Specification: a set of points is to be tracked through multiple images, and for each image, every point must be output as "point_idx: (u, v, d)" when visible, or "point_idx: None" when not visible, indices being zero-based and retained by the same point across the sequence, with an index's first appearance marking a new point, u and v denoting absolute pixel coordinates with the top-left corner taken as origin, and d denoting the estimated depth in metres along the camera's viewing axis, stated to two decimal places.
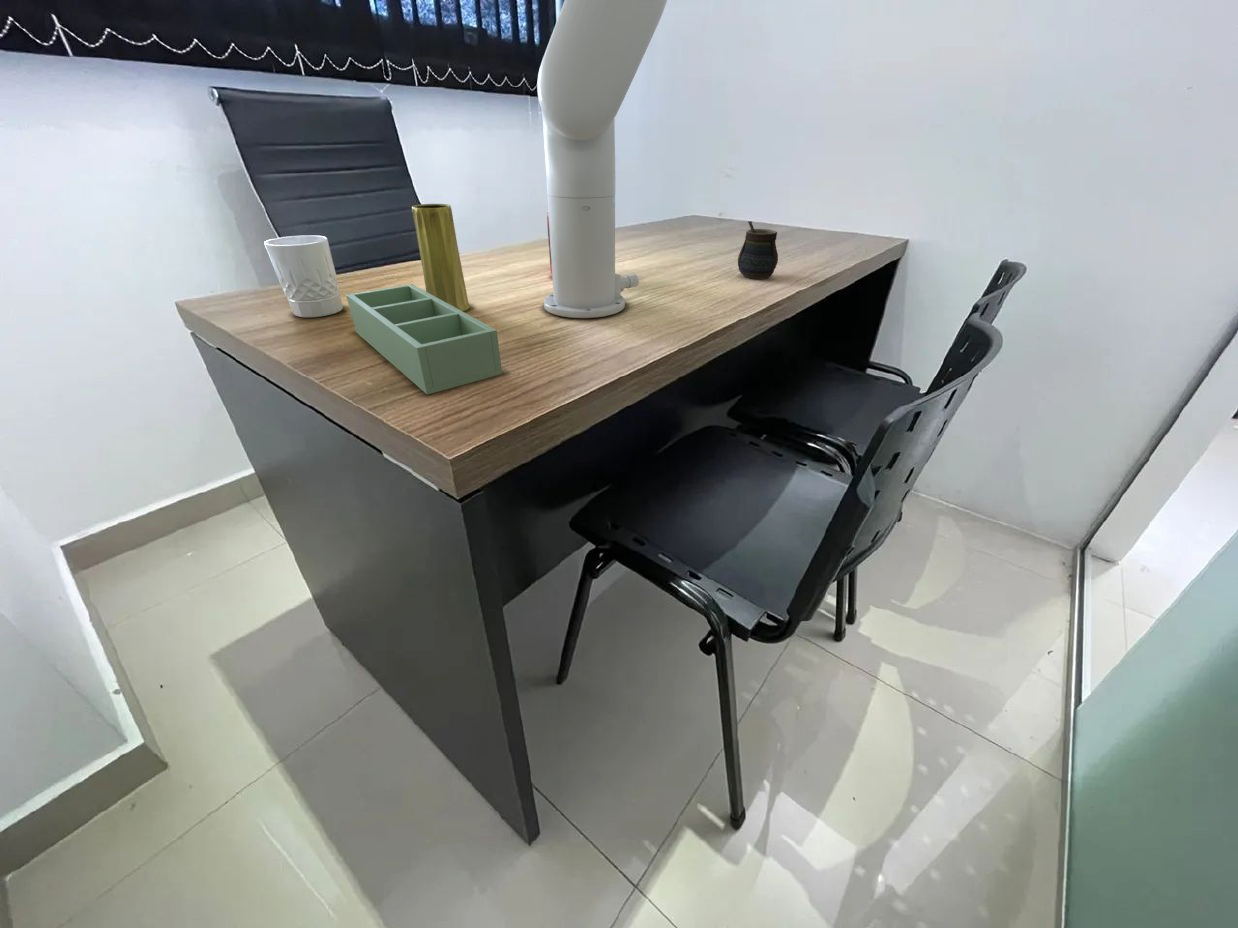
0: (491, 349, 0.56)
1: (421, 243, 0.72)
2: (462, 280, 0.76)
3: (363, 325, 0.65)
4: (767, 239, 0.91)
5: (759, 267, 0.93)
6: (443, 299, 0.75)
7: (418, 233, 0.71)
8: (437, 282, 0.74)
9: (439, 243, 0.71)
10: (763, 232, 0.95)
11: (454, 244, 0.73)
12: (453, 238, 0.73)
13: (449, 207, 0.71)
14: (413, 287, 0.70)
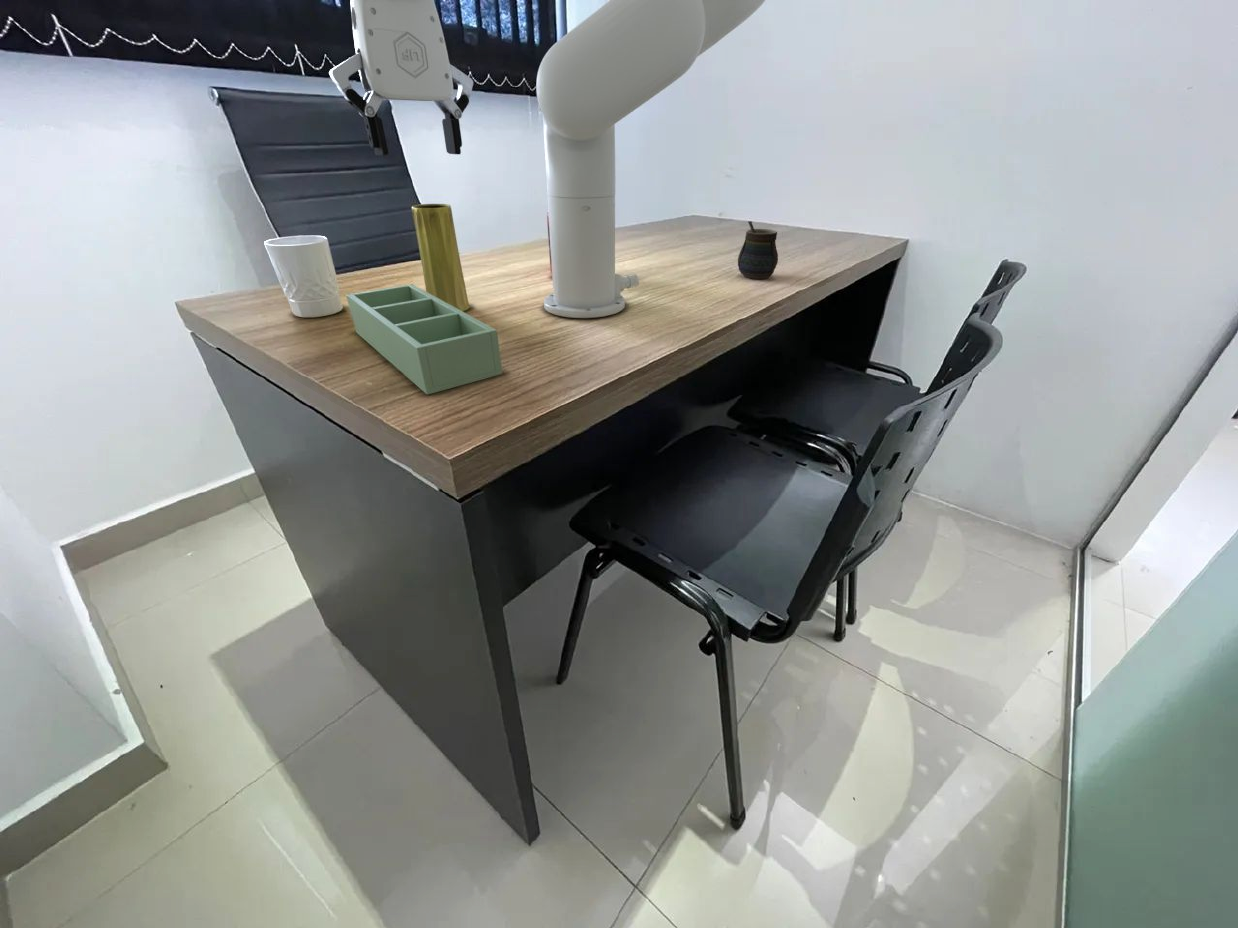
0: (491, 349, 0.56)
1: (421, 243, 0.72)
2: (462, 280, 0.76)
3: (363, 325, 0.65)
4: (767, 239, 0.91)
5: (759, 267, 0.93)
6: (443, 299, 0.75)
7: (418, 233, 0.71)
8: (437, 282, 0.74)
9: (439, 243, 0.71)
10: (763, 232, 0.95)
11: (454, 244, 0.73)
12: (453, 238, 0.73)
13: (449, 207, 0.71)
14: (413, 287, 0.70)
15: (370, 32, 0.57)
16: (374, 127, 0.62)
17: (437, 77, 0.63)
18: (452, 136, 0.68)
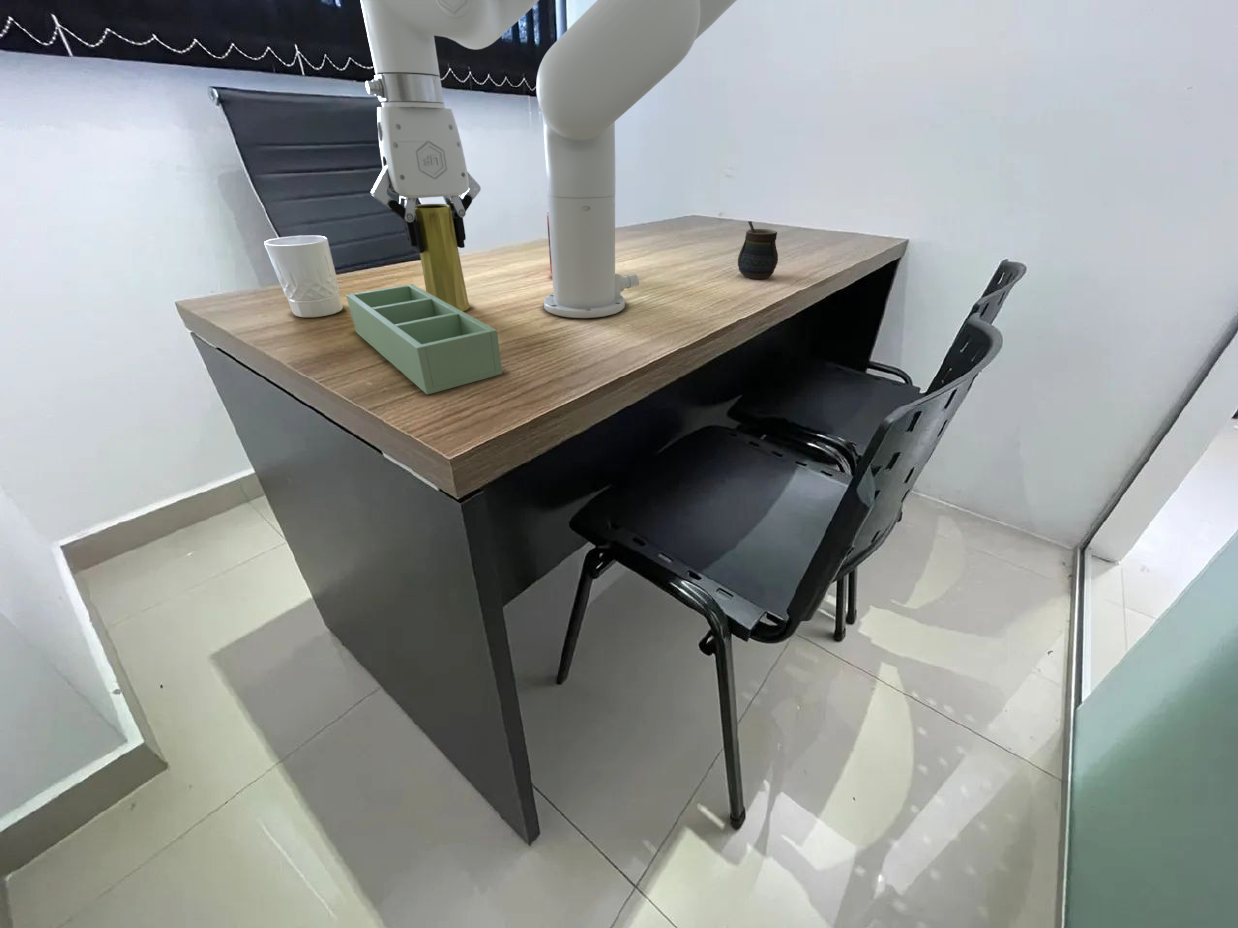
0: (491, 349, 0.56)
1: None
2: (462, 280, 0.76)
3: (363, 325, 0.65)
4: (767, 239, 0.91)
5: (759, 267, 0.93)
6: (443, 299, 0.75)
7: None
8: (437, 282, 0.74)
9: (439, 243, 0.71)
10: (763, 232, 0.95)
11: (454, 244, 0.73)
12: (452, 238, 0.73)
13: (449, 207, 0.71)
14: (413, 287, 0.70)
15: (395, 144, 0.63)
16: (412, 230, 0.70)
17: (454, 176, 0.69)
18: (456, 232, 0.74)
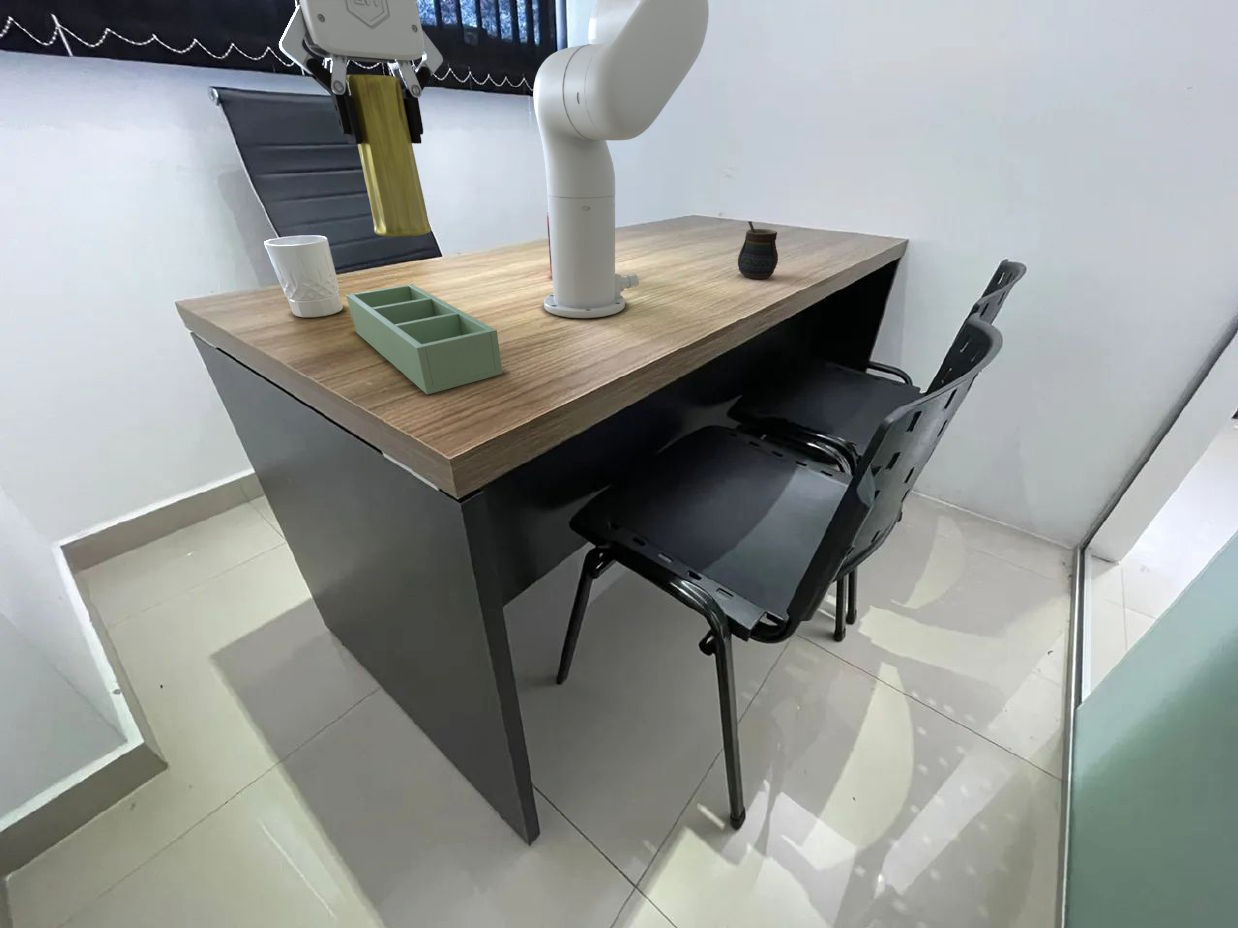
0: (491, 349, 0.56)
1: None
2: (419, 190, 0.56)
3: (363, 325, 0.65)
4: (767, 239, 0.91)
5: (759, 267, 0.93)
6: (392, 214, 0.55)
7: None
8: (383, 189, 0.54)
9: (383, 130, 0.51)
10: (763, 232, 0.95)
11: (405, 135, 0.53)
12: (403, 125, 0.52)
13: (396, 78, 0.51)
14: (413, 287, 0.70)
15: None
16: (344, 108, 0.50)
17: (402, 29, 0.48)
18: (410, 120, 0.53)
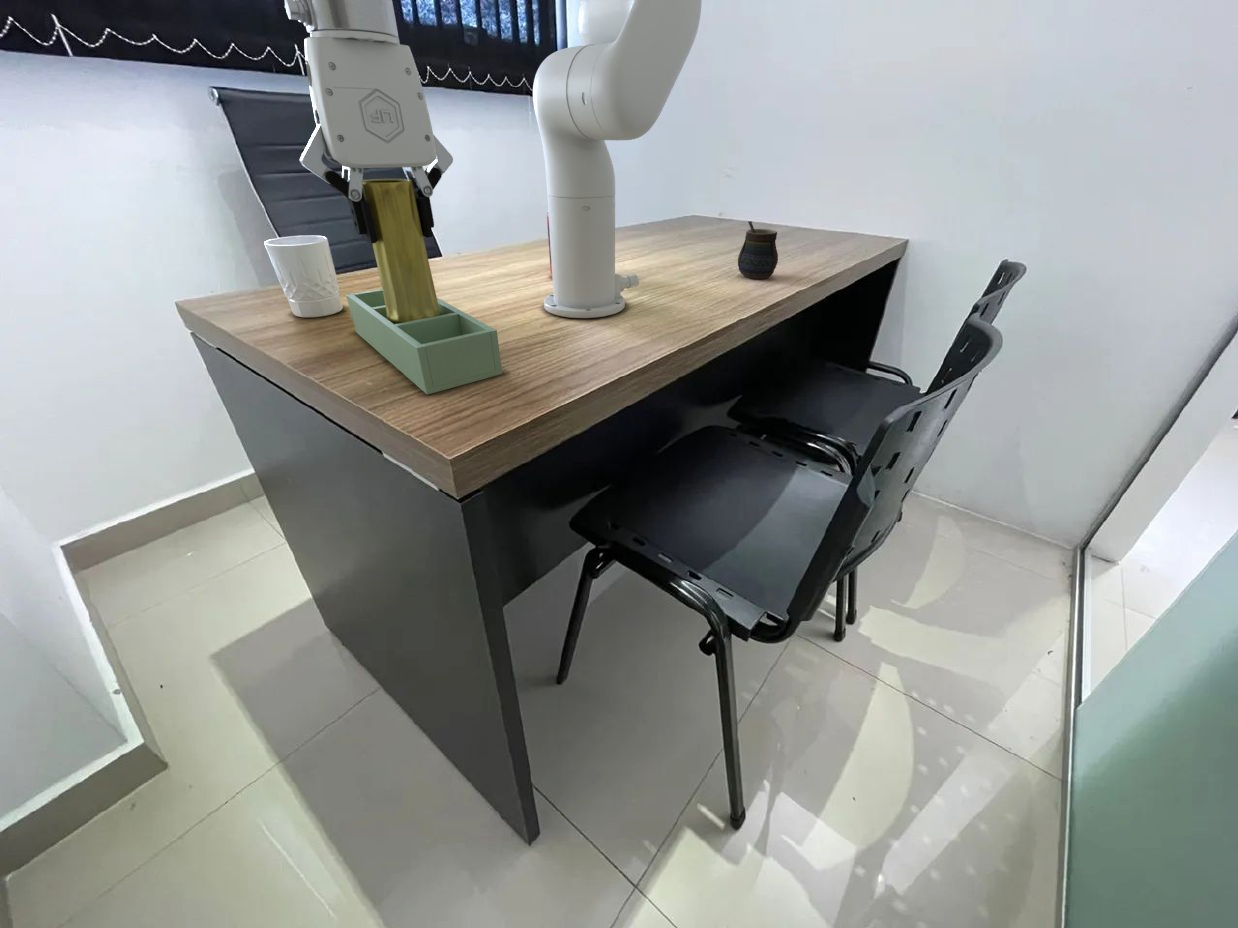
0: (491, 349, 0.56)
1: None
2: (430, 279, 0.59)
3: (363, 325, 0.65)
4: (767, 239, 0.91)
5: (759, 267, 0.93)
6: (404, 304, 0.58)
7: None
8: (396, 282, 0.56)
9: (396, 230, 0.54)
10: (763, 232, 0.95)
11: (417, 232, 0.56)
12: (415, 223, 0.55)
13: (409, 182, 0.53)
14: None
15: (329, 91, 0.46)
16: (360, 212, 0.52)
17: (416, 140, 0.51)
18: (421, 217, 0.56)
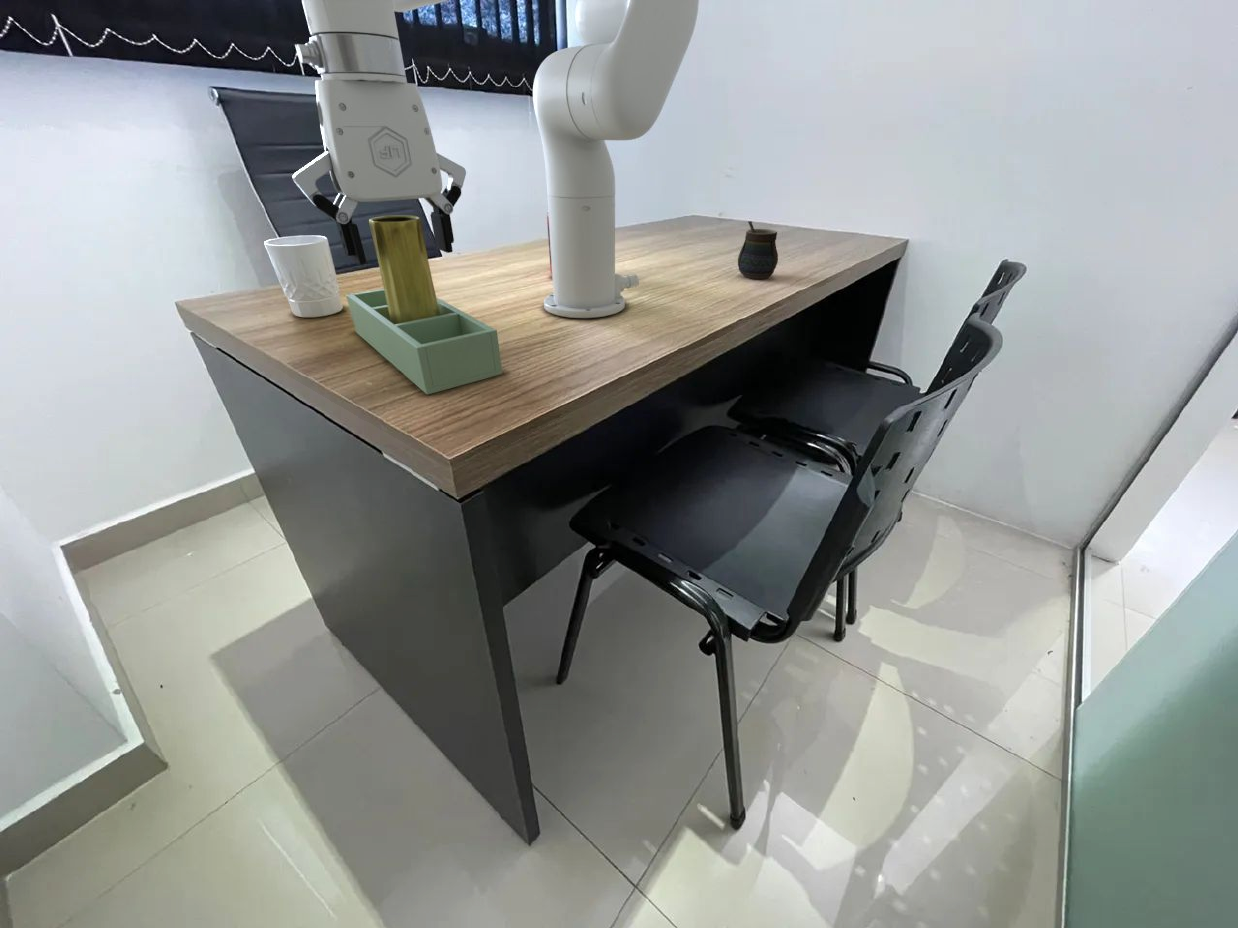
0: (491, 349, 0.56)
1: (382, 266, 0.56)
2: (436, 310, 0.61)
3: (363, 325, 0.65)
4: (767, 239, 0.91)
5: (759, 267, 0.93)
6: None
7: (378, 253, 0.56)
8: (404, 314, 0.58)
9: (405, 266, 0.56)
10: (763, 232, 0.95)
11: (425, 266, 0.58)
12: (423, 259, 0.57)
13: (417, 220, 0.55)
14: None
15: (339, 131, 0.47)
16: (348, 234, 0.53)
17: (422, 173, 0.53)
18: (442, 233, 0.58)
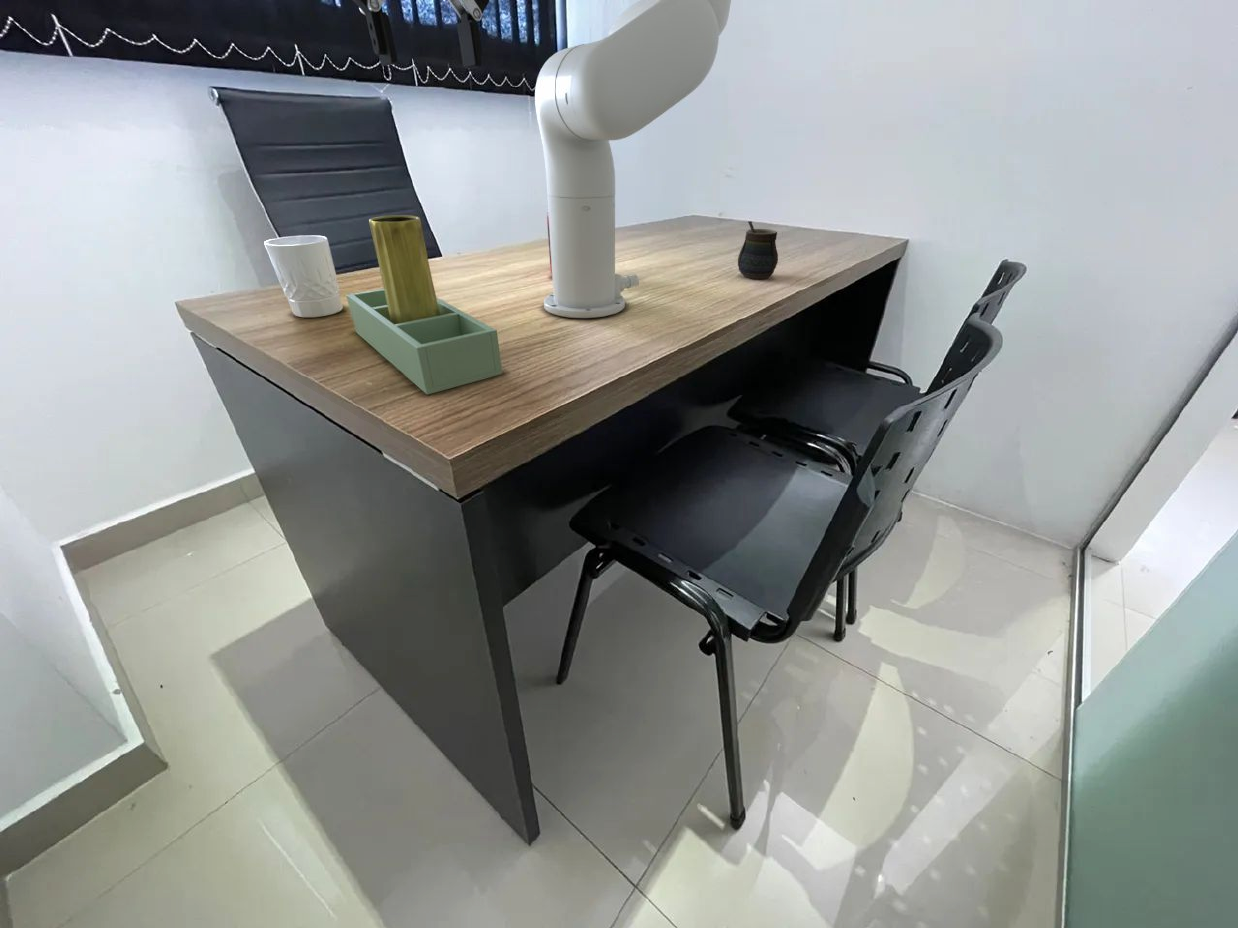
0: (491, 349, 0.56)
1: (382, 266, 0.56)
2: (436, 310, 0.61)
3: (363, 325, 0.65)
4: (767, 239, 0.91)
5: (759, 267, 0.93)
6: None
7: (378, 253, 0.56)
8: (404, 314, 0.58)
9: (405, 266, 0.56)
10: (763, 232, 0.95)
11: (425, 266, 0.58)
12: (423, 259, 0.57)
13: (417, 220, 0.55)
14: None
15: None
16: (379, 26, 0.51)
17: None
18: (471, 43, 0.57)
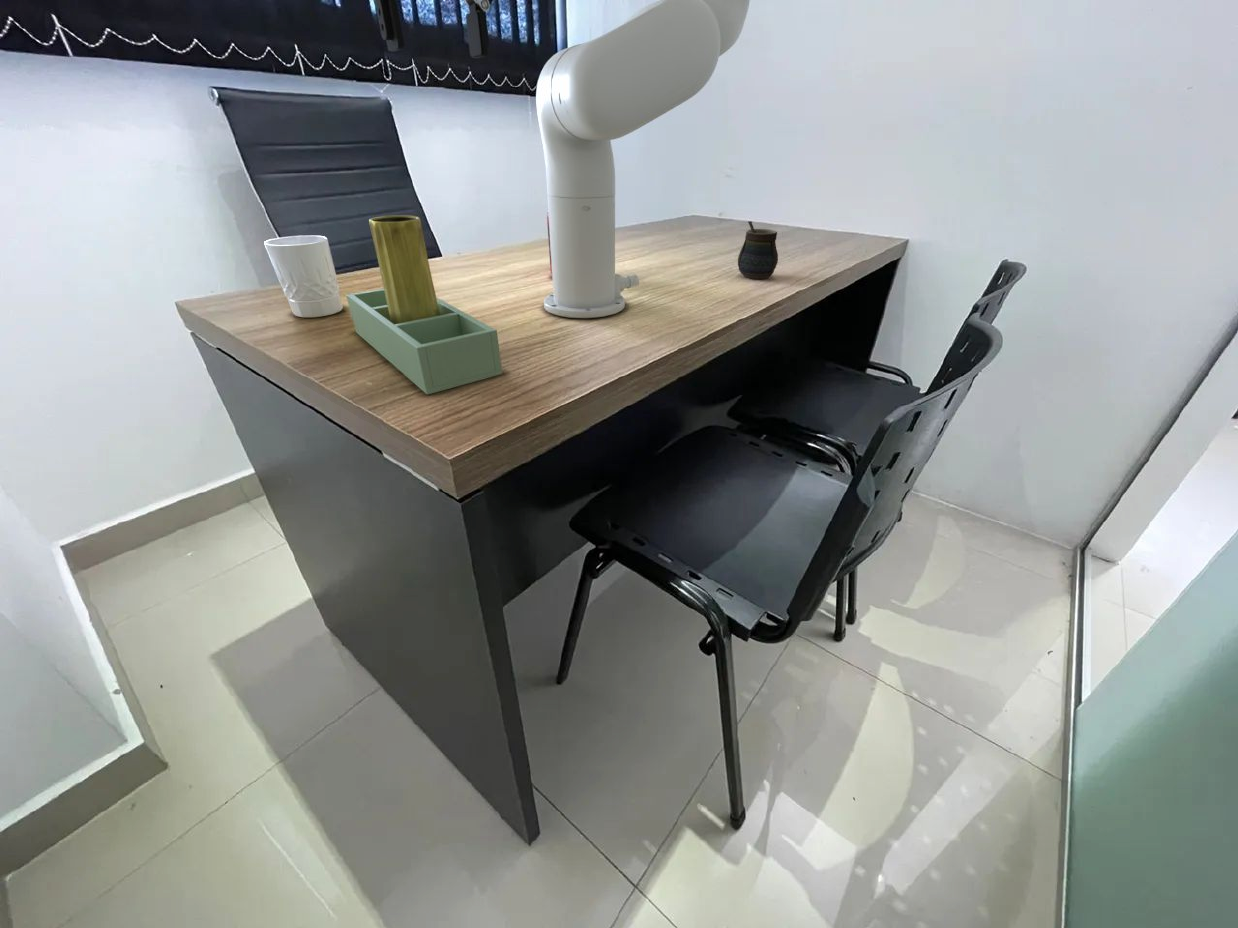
0: (491, 349, 0.56)
1: (382, 266, 0.56)
2: (436, 310, 0.61)
3: (363, 325, 0.65)
4: (767, 239, 0.91)
5: (759, 267, 0.93)
6: None
7: (378, 253, 0.56)
8: (404, 314, 0.58)
9: (405, 266, 0.56)
10: (763, 232, 0.95)
11: (425, 266, 0.58)
12: (423, 259, 0.57)
13: (417, 220, 0.55)
14: None
15: None
16: (388, 12, 0.52)
17: None
18: (478, 33, 0.58)
